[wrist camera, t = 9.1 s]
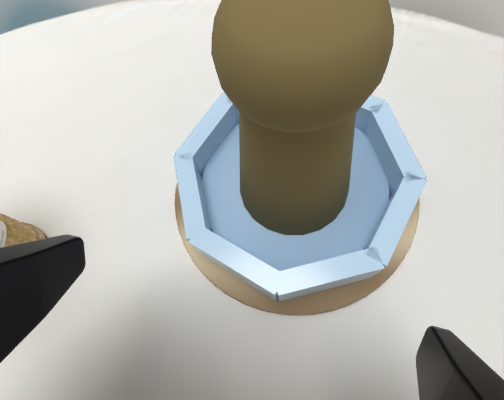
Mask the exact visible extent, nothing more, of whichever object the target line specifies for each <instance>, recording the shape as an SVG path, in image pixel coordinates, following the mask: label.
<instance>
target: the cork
mask: <svg viewBox="0 0 504 400" xmlns="http://www.w3.org/2000/svg"><path fill="white" fill-rule="evenodd" d="M393 36H394V24H393V19H392V14H391V8H390V5H389V2H388V0H222V1H221V3H220V5H219V8H218V10H217V12H216V15H215V17H214V25H213V32H212V52H211V54H212V57H213V61H214V64H215V68H216V71H217V74H218V78H219V81H220V84H221V87H222V89H223V91H224V92H225V94H226V95H227V97H228V98H229V100H230V101H231V102H232V103H233V104H234V105H235V107H236V108H237V109H238V110H239V152H240V194H241V197H242V201H243V204H244V207H245V208H246V210H247V211H248V212H249V214H250V215H251V217H252V218H253V219H254V220H255V221H256V222H258V223H259V224H260V225H262V226H263V227H265V228H266V229H267V230H270V231H273V232H277V233H280V234H283V235H306V234H309V233H312V232H316V231H319V230H321V229H323V228H324V227H325V226H327V225H328V224H330V223H331V222H333V221H334V220H335V219H336V217H337V216H338V215H339V213H340V212H341V211H342V209H343V208H344V206H345V203H346V199H347V196H348V192H349V183H350V173H351V162H352V152H353V142H354V131H355V121H356V112H357V111H358V110H359V109H360V108H361V106H362V105H363V104H364V103H365V101H366V100H367V99H368V98H369V96H370V95H371V94H372V93H373V91H374V90H375V89H376V87H377V86H378V85H379V84H380V82H381V80H382V78H383V75H384V73H385V70H386V67H387V64H388V61H389V57H390V54H391V50H392V46H393Z"/></svg>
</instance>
